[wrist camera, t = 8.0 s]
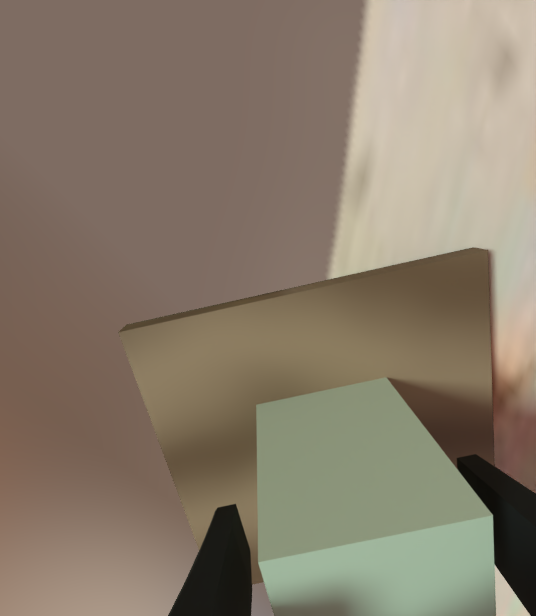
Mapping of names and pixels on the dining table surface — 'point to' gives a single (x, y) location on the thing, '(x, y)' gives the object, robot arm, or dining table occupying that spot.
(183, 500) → the walnut base board
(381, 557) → the sage block
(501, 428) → the dining table surface
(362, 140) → the dining table surface
